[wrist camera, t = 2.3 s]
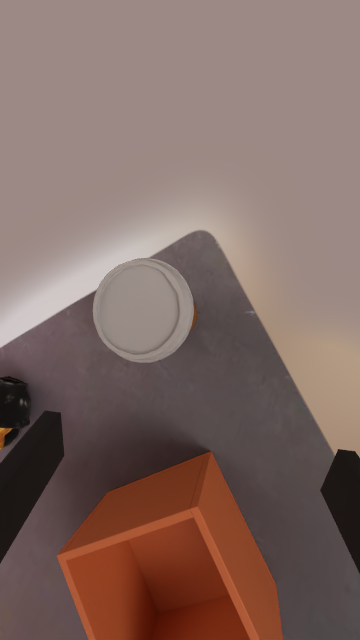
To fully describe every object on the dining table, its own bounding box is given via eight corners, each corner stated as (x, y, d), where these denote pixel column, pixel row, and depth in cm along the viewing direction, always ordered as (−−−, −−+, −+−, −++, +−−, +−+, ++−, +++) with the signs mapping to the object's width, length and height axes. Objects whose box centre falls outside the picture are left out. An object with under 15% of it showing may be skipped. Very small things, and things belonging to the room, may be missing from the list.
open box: (211, 450, 31) (197, 506, 22) (276, 584, 29) (292, 710, 20) (107, 492, 35) (56, 555, 25) (158, 613, 33) (123, 733, 23)
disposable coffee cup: (213, 347, 31) (195, 361, 20) (143, 352, 34) (92, 367, 22) (206, 274, 32) (185, 245, 20) (138, 284, 34) (84, 263, 22)
